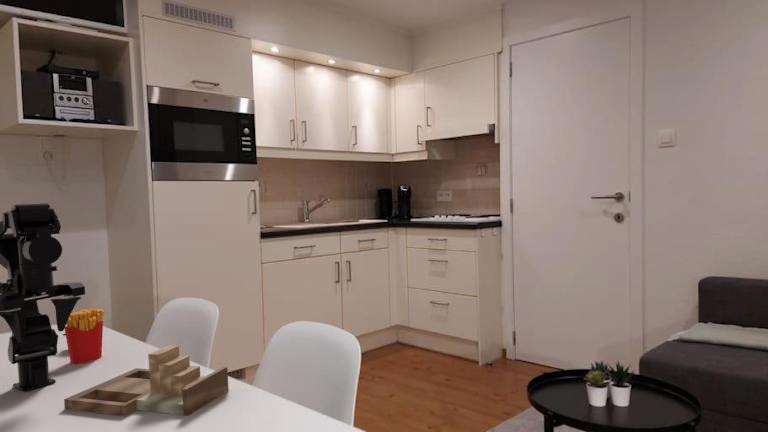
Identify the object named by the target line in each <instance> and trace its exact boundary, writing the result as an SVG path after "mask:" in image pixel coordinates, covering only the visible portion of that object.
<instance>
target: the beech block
mask: <svg viewBox="0 0 768 432" xmlns="http://www.w3.org/2000/svg"><path fill="white" fill-rule="evenodd" d="M179 347H180V346H179V345H167V346H165V347H161V348H160V349H157V350H155V351H153V352H150V353H148V354H147V355H148V369H149V375H150V392H151V393H154V394H165V395H175V396H183V394H182V389H183V388H185V387H187V386H188V385H190V384H192V383H194V382H196V381H198V380H200V379H201V378H203V377H205V376H206V375H205V376H204V375H201V367H200V365H191V364H190V356H189V355H180V348H179Z"/></svg>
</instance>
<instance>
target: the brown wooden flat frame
mask: <svg viewBox="0 0 768 432" xmlns="http://www.w3.org/2000/svg"><path fill="white" fill-rule="evenodd" d="M228 372H229V371H228V366H222V367H220V368H218V369H216V370H214V371H213V372H211V373H209V374H208V375H205V377H203V378H201V379H200V380H198V381H196V382H194V383H192V384H190V385H188V386H187V387H185V388H183V389H182V394H183V396H175V395H165V394H154V393H151V392H150V375H149V368H133V369H131V370H129V371H126V372H125V373H121V374H119V375H117V376H115V377H112V378H110V379H108V380H106V381H103V382H101V383H98V384H96V385H94V386H92V387H89V388H86V389H84V390H82V391H80V392H78V393H75V394H74V395H70V396H69V397H68V396H67V397H66V398H64V400H63V401H64V402H63V403H64V410H70V411H79V412H88V413H96V414H103V415H104V414H105V415H110V416H111V415H112V416H113V415H114V416H120V417H126V416H127V415H130V414H131V413H133V412H135V411H144V412H153V413H163V414H172V415H181V416H189V415H191V414H193V413H194V412H196V411H198V410H199V409H201V408H202V407H204V406H206V405H207V404H209V403H211V402H212V401H214V400H215V399H217V398H218V397H221V396H222V395H224V394H225V393H227V392H228V391H229V390H230V389H229V375H228V374H229V373H228Z"/></svg>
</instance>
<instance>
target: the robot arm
mask: <svg viewBox="0 0 768 432" xmlns="http://www.w3.org/2000/svg"><path fill="white" fill-rule="evenodd" d="M61 227H62V226H61V223H60V220H59V217H58V215H57V213H56V212H55V209H54V208H52V207H51V205H50V204H49V203H47V202H46V203H44V202H43V203H21V204H19V203H18V204H14V205H13V206H12V207H11V209H10V210H9V211H6V212H2V215H1V220H0V266H1V267H2V268H5V269H6V270H7V275H8V278H6V277H5V276H2V277H0V317H1V318H3V319H4V321H5V323H7V325H8V327H9V329H10V330H11V336H9V340H8V347H7V356H8V362H10V363H11V365H15V364H17V371H18V372H17V374H18V382H15V383H13V384H12V387H13V388H16V389H18V390H21V391H23V392H26V391H30V390H33V389H37V388H41V387H44V386H47V385H51V384H55V383H56V379H54V378H51V377H50V374H49V373H50V372H49V360H48V359H49V357H52V356H56V355H57V354H58V341H59V340H58V339H59V334H58V333H56V330H55V329H54V328H52V325H51V322H50V321H51V320H50V317H49V315H48V314H45V313H44V314H42V313H40V310H39V305H38V301H41V300H46V299H50V301H51V303H52V304H53V305H54V309H55V319H56V320H55V321H56V327H57V331H58V332H64V331H65V329H64V328H65V326H67V325H66V323H67V321H68V319H69V316H70V314H71V313H73V310H74V308H75V307H76V305H77V303H78V301H79V300H81V299H82V297H81V296H83V295H84V296H85V295H86V287H85V285H84V284H83V282H63V283H57V284H54V273H53V272H56V271H58V267H57V265H53V263H55V262H57V261H58V260H59V259H60V258H61V256H62V254H63V247H62V244H61V242H60V241H59V240H58V239H57V238H55V237H53V236H52V235H58V234H60V233H61V232H60V231H61V229H62V228H61ZM8 229H11V231H12V232H11V233H10V232H9V233H8V232H7V231H8Z"/></svg>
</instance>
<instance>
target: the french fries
mask: <svg viewBox="0 0 768 432" xmlns="http://www.w3.org/2000/svg"><path fill="white" fill-rule="evenodd" d="M104 313H105V311H104V309H102V308H98V309H97V308H94V307H92V308H90V309H89V310H88V308H85V309H80V310H79V311H75V312H71V314H70V316H69V319H68V321H67V323H66V326H65V328H64V334H66V335H65V338H66V339H65V340H66V344H67V350H68V356H69V360H70V363H71V364H73V365H77V364H78V365H79V364H83V363H88V362H92V361H95V360H99V359H100V358H102V352H103V351H102V349H103V331H104V330H103V327H104V320H103V317H104Z"/></svg>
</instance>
